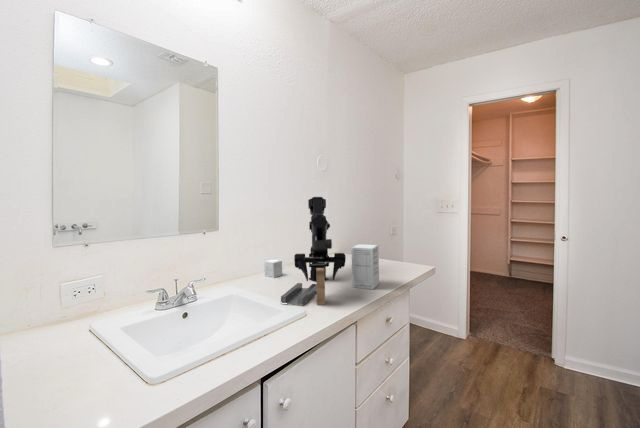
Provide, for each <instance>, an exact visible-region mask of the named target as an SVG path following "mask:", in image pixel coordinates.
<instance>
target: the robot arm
mask: <svg viewBox="0 0 640 428" xmlns="http://www.w3.org/2000/svg"><path fill="white" fill-rule="evenodd" d="M307 201H308V203H307V205H308V209H309V214H310V215H311V217H310V221H309V223H308V224H309V225H308V227H309V228H308V229H309V231H310V232H311V246H310V253H309V254H308V256H306V253H295V254H294V255H293V256H294V258H293V259H294V267H295V268H296V269H298V270H301V272H302V273H303V275H304V277H305V281H306V282H309V280H311V281H314V282H317V279H316V268H324V270H325V281H327V280H329V278H328V277H327V274H326V273H327V270H326V269H327V267H330V263H331V264H333V268H332V269H333V270H332V281H335V279H336V276H337V273H338V271H339V270H341V269H342V268H344V267H345V265H346V260H347V259H346V254H345V252H334V256H330V255H329V252H328V250H330V249H332V248H333V242H332V238H329V239H328V238H327V234H328V233H327V232H328V230H329V229H330V228H331V224H330V223H329V221H328V220H327V217H326V215H324V214H325V209H326V208H327V200H326V199H325V198H324V197H323V196H312V197H311V198H309V199H308V200H307ZM307 263H308V267H309V268H310V277H309V274H308V267H307Z"/></svg>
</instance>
